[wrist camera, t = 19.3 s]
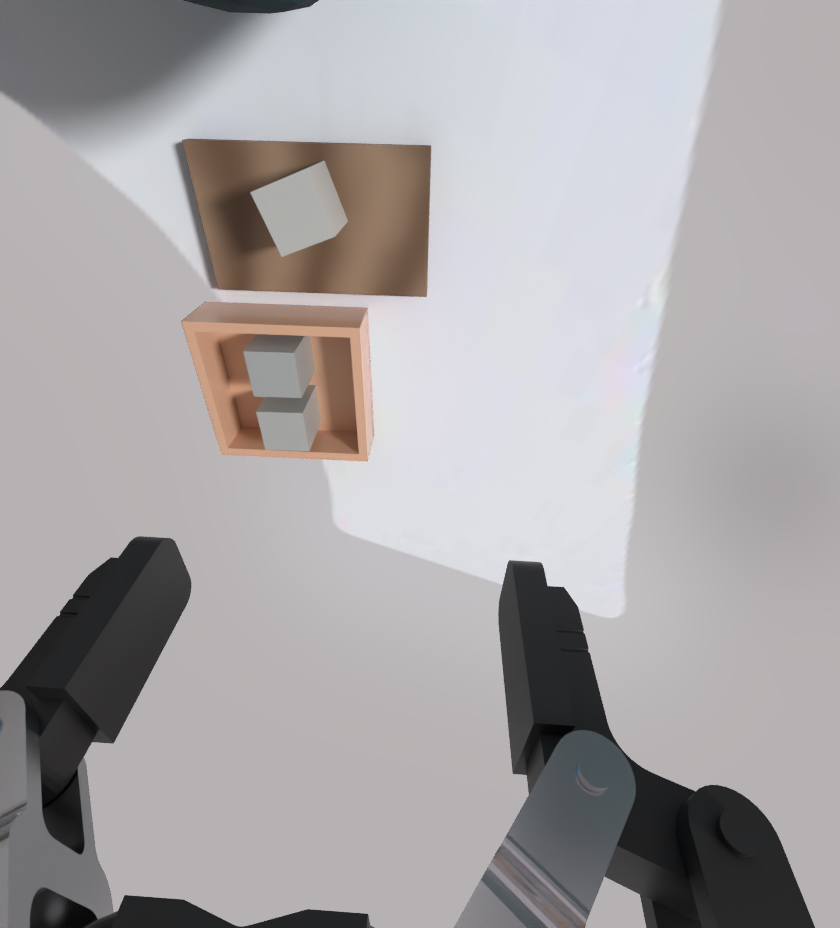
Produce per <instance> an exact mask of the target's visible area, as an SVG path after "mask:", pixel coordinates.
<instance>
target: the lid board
mask: <svg viewBox="0 0 840 928" xmlns="http://www.w3.org/2000/svg"><path fill="white" fill-rule="evenodd" d="M182 142H183V146H184V150H185V154H186V159H187V163H188V167H189V171H190V175H191V179H192V183H193V187H194V192H195V196H196V200H197V204H198V208H199V212H200V216H201V220H202V225H203V229H204V233H205V237H206V241H207V245H208V249H209V253H210V258H211V262H212V266H213V270H214V274H215V278H216V282H217V286H218V289H224V290H252V291H279V292H307V293H335V294H362V295H390V296H418V297H426V296H427V272H428V237H429V202H430V167H431V146H429V145H392V144H356V143H320V142H284V141H248V140H212V139H185V140H182ZM322 161H325V163H326V166H327V168H328V171H329V173H330V176H331V179H332V181H333V184H334V186H335V189H336V191H337V194H338V197H339V199H340V202H341V204H342V207H343V209H344V212H345V215H346V217H347V220H348V222H347V223H346V225H345V226H344V227H343V228H342V229H341V230H340V232H339V233H338V234H337V235H336V236H335V237H333V238H330V239H328V240H325V241H323V242H320V243H317V244H315V245H312V246H309V247H307V248H304V249H301V250H299V251H296V252H293V253H291V254H288V255H286V256H283V257H281V255H280V253H279V251H278V249H277V247H276V244H275V242H274V240H273V238H272V236H271V234H270V232H269V230H268V228H267V226H266V224H265V222H264V220H263V218H262V216H261V214H260V212H259V210H258V208H257V205H256V203H255V201H254V199H253V197H252V195H251V193H250V192H252V191H254V190H257V189H259V188H261V187H263V186H265V185H268V184H270V183H272V182H274V181H277V180H279V179H282V178H284V177H286V176H289V175H291V174H293V173H296V172H298V171H300V170H303V169H305V168H307V167H310V166H312V165H315V164H317V163H319V162H322Z"/></svg>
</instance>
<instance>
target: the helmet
mask: <svg viewBox="0 0 840 928" xmlns="http://www.w3.org/2000/svg"><path fill="white" fill-rule="evenodd" d="M184 1H188V2H192V3H196V4H200V5H204V6H208V7H211V8H215V9H219V10H223V11H227V12H241V13H277V12H285V11H290V10H295V9H300V8H305V7H310V6H311V5H313V4H314V3H315V2H317V1H318V0H184Z"/></svg>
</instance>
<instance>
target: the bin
mask: <svg viewBox="0 0 840 928" xmlns="http://www.w3.org/2000/svg"><path fill="white" fill-rule="evenodd" d="M181 323H182V326H183V329H184V332H185V336H186V339H187V342H188V345H189V349H190V352H191V356H192V359H193V362H194V365H195V369H196V372H197V375H198V378H199V382H200V385H201V389H202V392H203V395H204V398H205V402H206V405H207V408H208V411H209V415H210V418H211V421H212V424H213V428H214V431H215V435H216V438H217V441H218V445H219V448H220V451H221V454H222V455H239V456H262V457H283V458H284V457H285V458H305V459H327V460H348V461H368V459H369V454H370V450H371V445H372V441H373V436H374V427H373V406H372V386H371V366H370V346H369V326H368V308H357V307H330V306H303V305H276V304H249V303H222V302H204V303H203V304H202V305H201V306H199V307H198V308H197V309H196V310H194V311H193V312H192V313H191V314H189V315H188V316H187V317H186V318H185V319H183V320H182V321H181ZM257 334H269V335H295V336H310V337H311V344H312V351H313V358H314V365H315V372H314V374H313V376H312V378H311V380H310V382H309V384H308V385H316V389H317V396H318V403H319V409H320V416H321V423H320V426H319V428H318V431H317V433H316V436H315V438H314V441H313V443H312V446H311V448H310V451H286V450H265V446H264V442H263V438H262V434H261V430H260V426H259V422H258V418H257V414H256V411H257V410H258V408H259V406H260V405H261V403H262V402H263V400H264V398H265V397H254V395H253V390H252V386H251V382H250V378H249V374H248V370H247V365H246V361H245V357H244V353H243V351H244V350H245V349H246V347H247V346H248V345H249V344H250V343H251V341H252V340H253V339H254V338H255V336H256V335H257Z"/></svg>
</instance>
